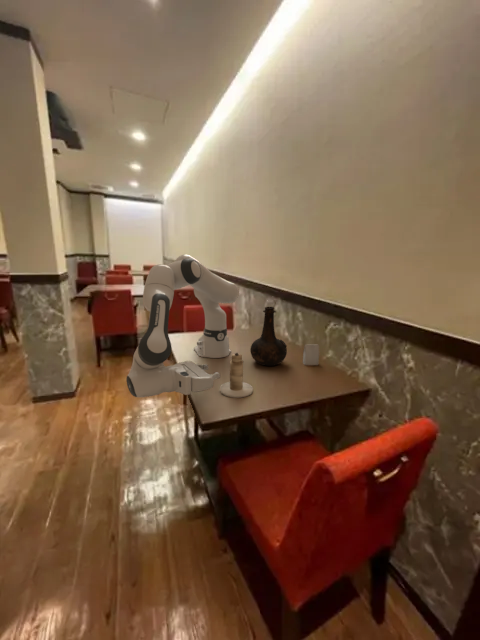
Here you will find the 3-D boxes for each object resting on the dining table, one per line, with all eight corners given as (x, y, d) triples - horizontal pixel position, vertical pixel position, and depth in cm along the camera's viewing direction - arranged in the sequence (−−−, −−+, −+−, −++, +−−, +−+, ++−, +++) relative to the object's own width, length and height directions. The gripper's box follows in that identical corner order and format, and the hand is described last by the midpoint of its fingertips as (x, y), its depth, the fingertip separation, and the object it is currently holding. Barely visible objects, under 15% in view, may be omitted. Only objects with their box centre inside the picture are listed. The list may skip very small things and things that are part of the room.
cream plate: (214, 387, 124) (214, 385, 123) (241, 381, 130) (241, 379, 130) (229, 400, 113) (230, 398, 113) (259, 393, 119) (259, 390, 119)
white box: (318, 365, 152) (319, 345, 150) (304, 365, 151) (306, 345, 149) (315, 362, 156) (317, 343, 154) (302, 362, 155) (304, 343, 153)
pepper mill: (227, 386, 122) (227, 351, 119) (238, 384, 125) (239, 350, 122) (233, 391, 118) (234, 355, 115) (245, 388, 121) (245, 353, 118)
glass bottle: (285, 370, 143) (288, 311, 138) (247, 367, 147) (248, 309, 141) (287, 358, 160) (290, 305, 155) (252, 355, 164) (254, 303, 158)
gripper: (167, 376, 116) (201, 369, 123) (188, 397, 99) (226, 388, 106) (167, 359, 115) (201, 354, 122) (188, 378, 98) (226, 371, 105)
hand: (213, 370), depth 114 cm, fingers open, 8 cm apart
